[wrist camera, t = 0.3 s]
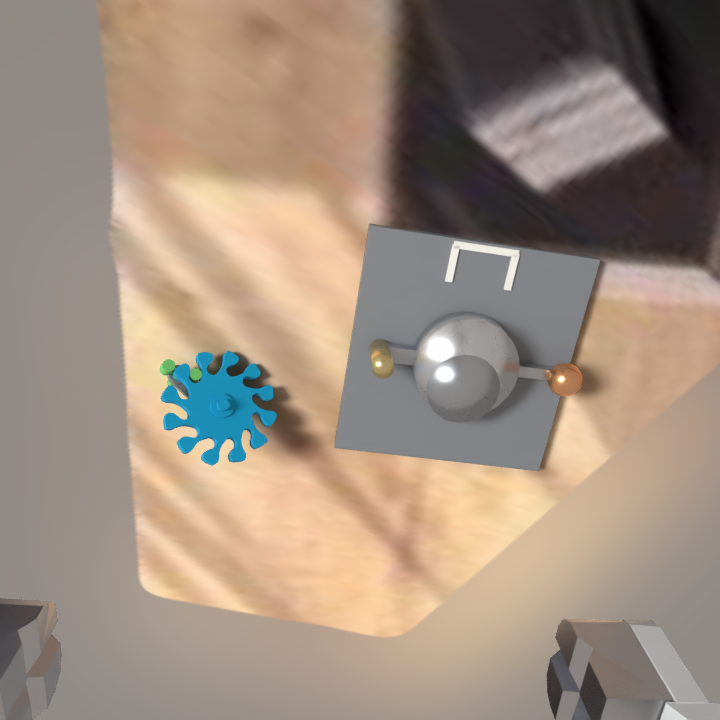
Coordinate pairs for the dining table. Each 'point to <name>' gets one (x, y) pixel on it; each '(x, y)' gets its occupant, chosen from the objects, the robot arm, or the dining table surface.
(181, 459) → the dining table surface
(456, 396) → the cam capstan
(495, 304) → the grey square plate
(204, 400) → the gear
